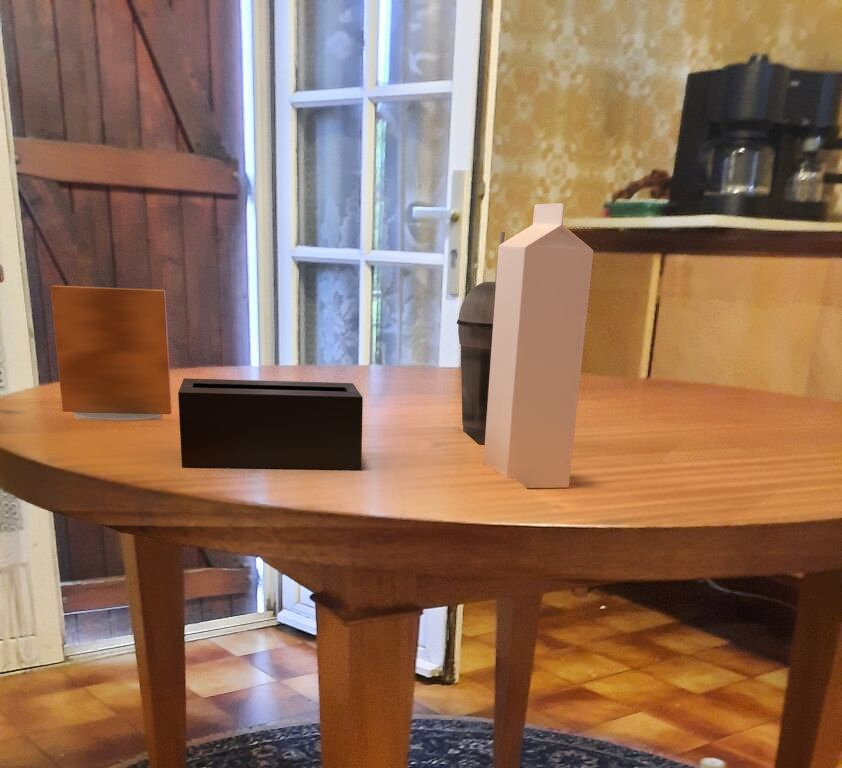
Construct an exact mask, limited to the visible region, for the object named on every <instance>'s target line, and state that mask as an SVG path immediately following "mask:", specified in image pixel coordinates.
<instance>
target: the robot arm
mask: <svg viewBox="0 0 842 768" xmlns="http://www.w3.org/2000/svg"><path fill="white" fill-rule="evenodd" d="M4 281H5V272H4V267H3V266H2V264H0V283H3V282H4Z"/></svg>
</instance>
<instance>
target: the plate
mask: <svg viewBox="0 0 842 768" xmlns="http://www.w3.org/2000/svg"><path fill="white" fill-rule="evenodd" d="M163 415H164V414H133V413H91V412H73V419H79V420H89V421H99V422H141V421H142V422H143V421H164V416H163Z"/></svg>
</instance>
